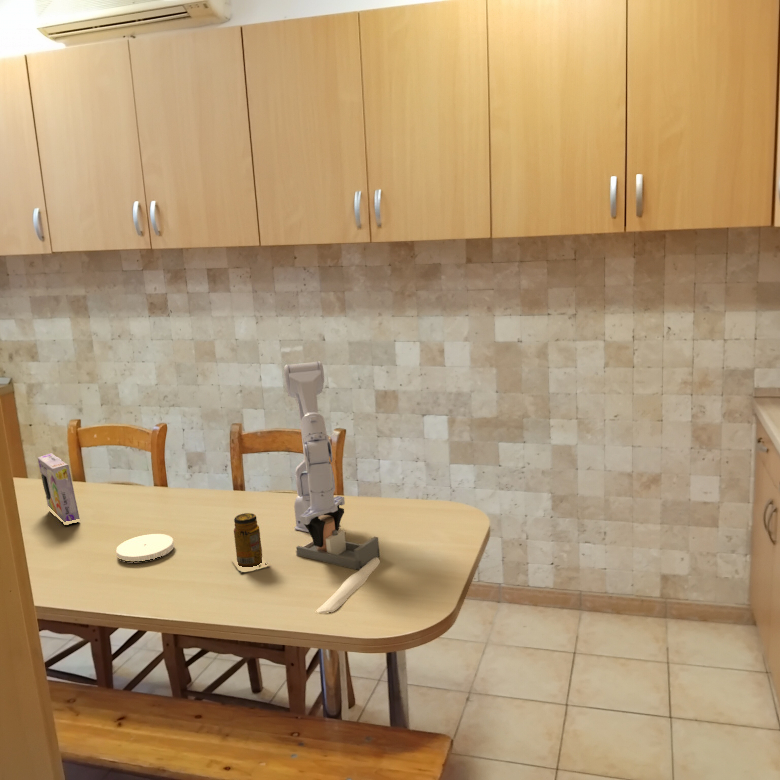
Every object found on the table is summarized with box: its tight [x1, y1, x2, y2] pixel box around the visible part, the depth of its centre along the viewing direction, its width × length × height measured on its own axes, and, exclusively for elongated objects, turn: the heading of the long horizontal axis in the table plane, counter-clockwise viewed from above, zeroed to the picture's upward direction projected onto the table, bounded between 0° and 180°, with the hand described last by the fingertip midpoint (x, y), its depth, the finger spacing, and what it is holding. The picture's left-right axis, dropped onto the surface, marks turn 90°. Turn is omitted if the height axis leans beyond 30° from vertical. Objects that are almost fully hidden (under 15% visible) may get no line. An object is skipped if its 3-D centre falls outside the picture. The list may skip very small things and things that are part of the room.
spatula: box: [316, 557, 381, 613], centre depth 177 cm, size 28×4×2 cm, turn 155°
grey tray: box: [295, 536, 381, 571], centre depth 192 cm, size 19×8×5 cm, turn 56°
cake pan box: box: [37, 452, 81, 522], centre depth 231 cm, size 19×5×18 cm, turn 36°
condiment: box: [233, 512, 269, 567], centre depth 190 cm, size 7×8×12 cm
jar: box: [316, 515, 335, 552], centre depth 193 cm, size 5×5×9 cm
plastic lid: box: [115, 533, 175, 561], centre depth 202 cm, size 14×14×2 cm
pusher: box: [326, 529, 346, 555], centre depth 192 cm, size 1×6×6 cm, turn 146°
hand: (326, 541), depth 194 cm, fingers closed on jar, 5 cm apart
